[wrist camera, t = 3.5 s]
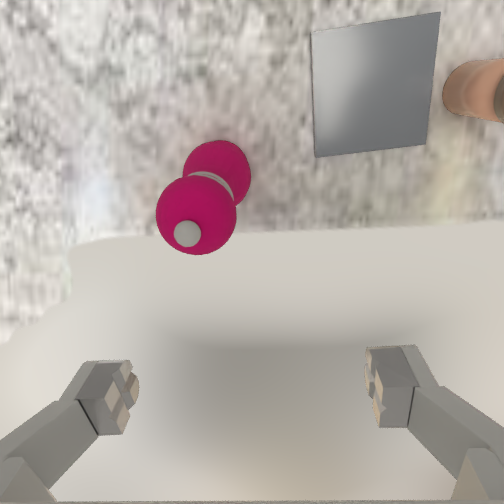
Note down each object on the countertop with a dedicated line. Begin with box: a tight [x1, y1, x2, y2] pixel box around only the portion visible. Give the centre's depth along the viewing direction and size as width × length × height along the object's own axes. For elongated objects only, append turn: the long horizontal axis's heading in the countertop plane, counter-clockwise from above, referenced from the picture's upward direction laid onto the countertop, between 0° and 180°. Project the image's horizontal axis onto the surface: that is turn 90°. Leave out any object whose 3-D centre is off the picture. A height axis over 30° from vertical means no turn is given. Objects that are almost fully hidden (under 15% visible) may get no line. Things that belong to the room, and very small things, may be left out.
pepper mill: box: [156, 140, 251, 255], centre depth 30 cm, size 7×7×20 cm
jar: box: [442, 58, 504, 124], centre depth 29 cm, size 5×5×11 cm
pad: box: [310, 12, 441, 158], centre depth 34 cm, size 12×12×1 cm
